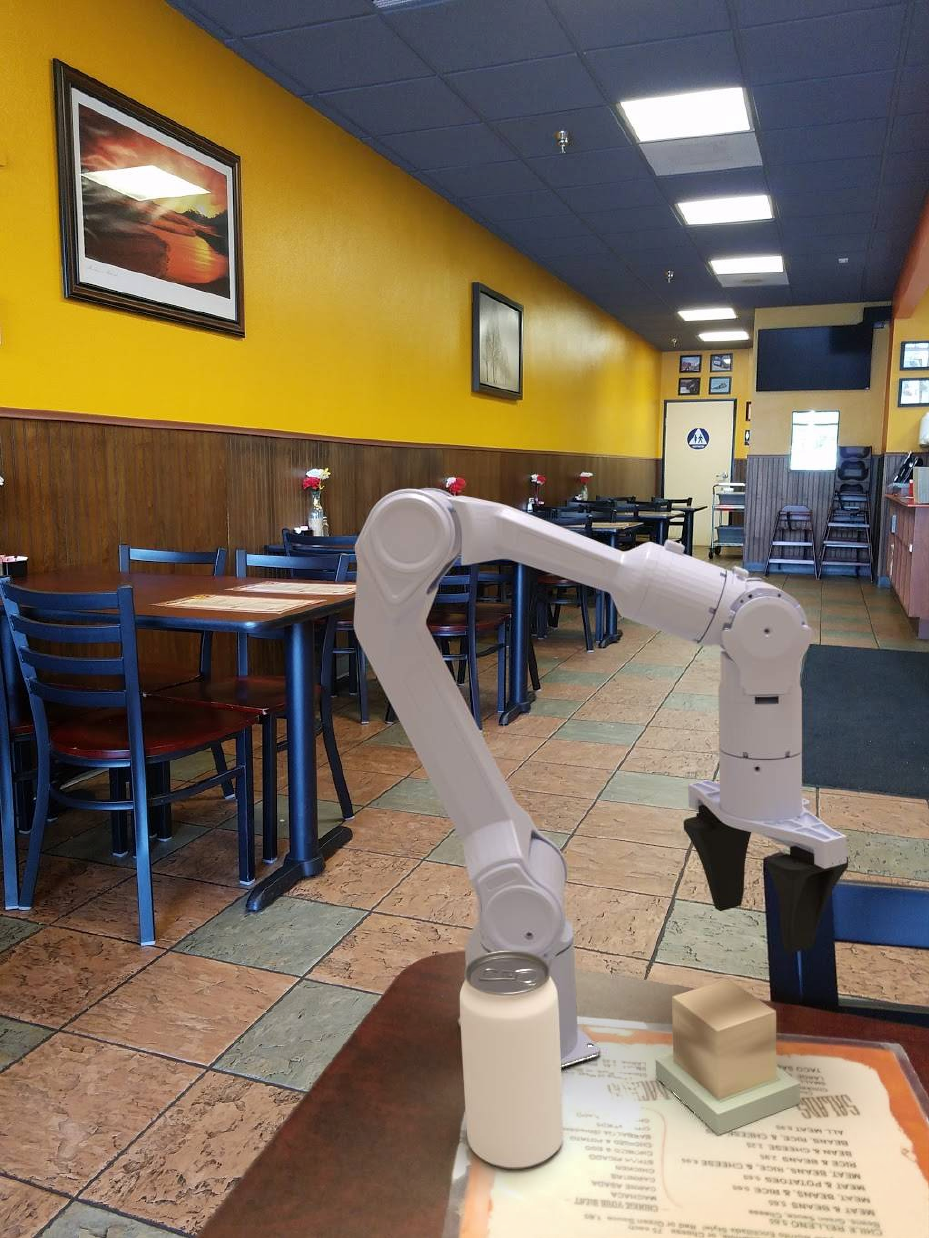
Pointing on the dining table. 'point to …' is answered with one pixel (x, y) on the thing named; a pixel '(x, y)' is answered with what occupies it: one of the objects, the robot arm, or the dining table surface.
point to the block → (724, 1038)
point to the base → (734, 1107)
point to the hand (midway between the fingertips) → (761, 926)
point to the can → (511, 1059)
